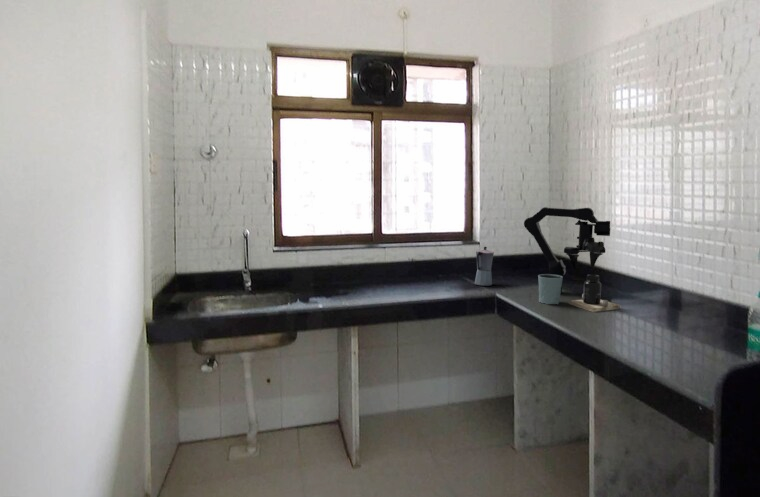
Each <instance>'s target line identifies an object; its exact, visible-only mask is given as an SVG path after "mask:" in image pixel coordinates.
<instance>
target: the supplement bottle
mask: <svg viewBox="0 0 760 497" xmlns="http://www.w3.org/2000/svg"><path fill="white" fill-rule="evenodd" d="M582 294H583V302H584V303H586V304H593V305H596V304H600V300H602V299H601V298H602V297H601V294H602V283H601V282H600V275H598V274H587V275H586V280H585V281H584V283H583V293H582Z"/></svg>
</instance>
